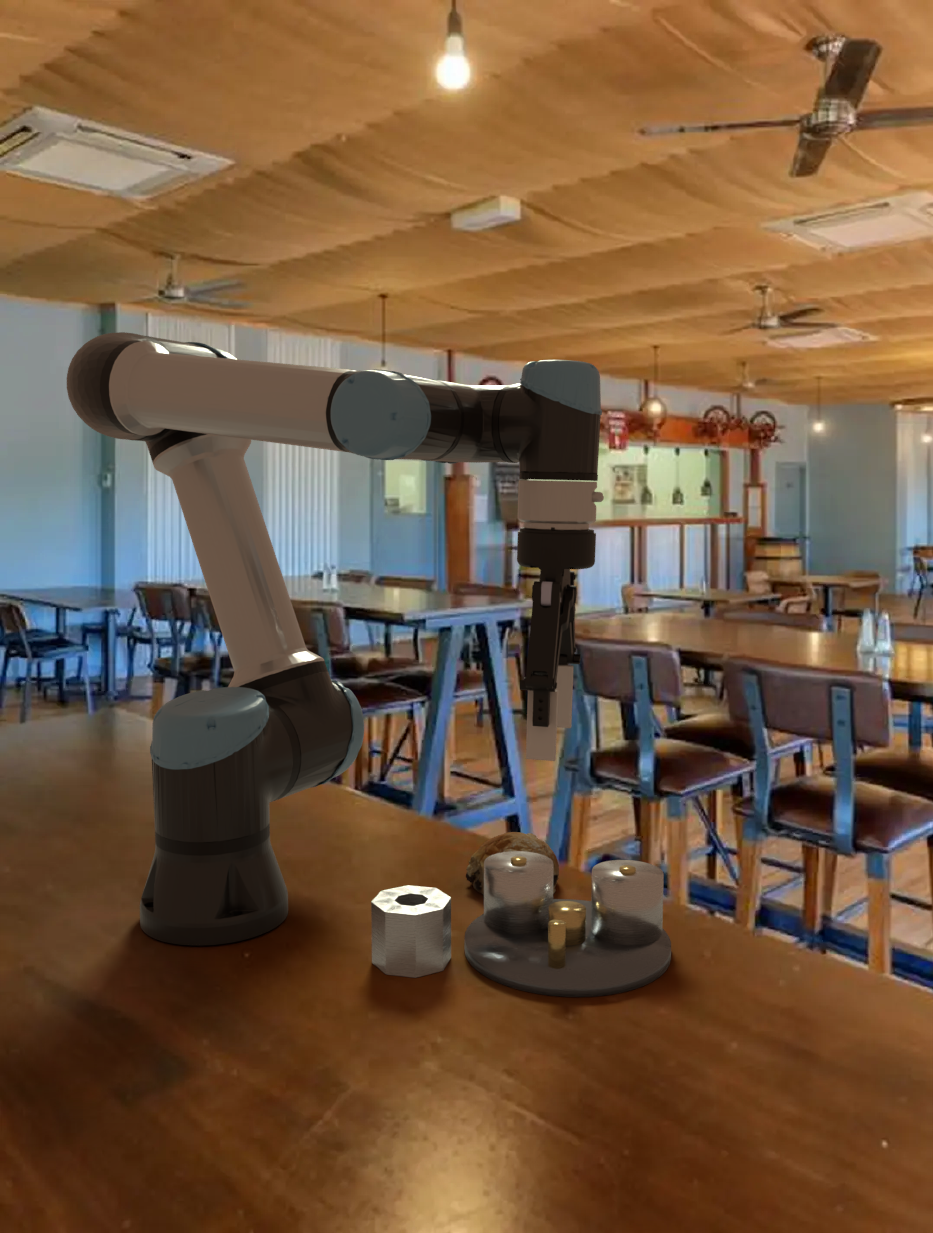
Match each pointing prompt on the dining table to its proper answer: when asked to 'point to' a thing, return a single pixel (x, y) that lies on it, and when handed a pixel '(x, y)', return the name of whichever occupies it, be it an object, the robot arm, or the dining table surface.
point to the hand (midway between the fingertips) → (549, 742)
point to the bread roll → (507, 844)
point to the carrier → (569, 928)
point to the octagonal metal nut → (411, 931)
